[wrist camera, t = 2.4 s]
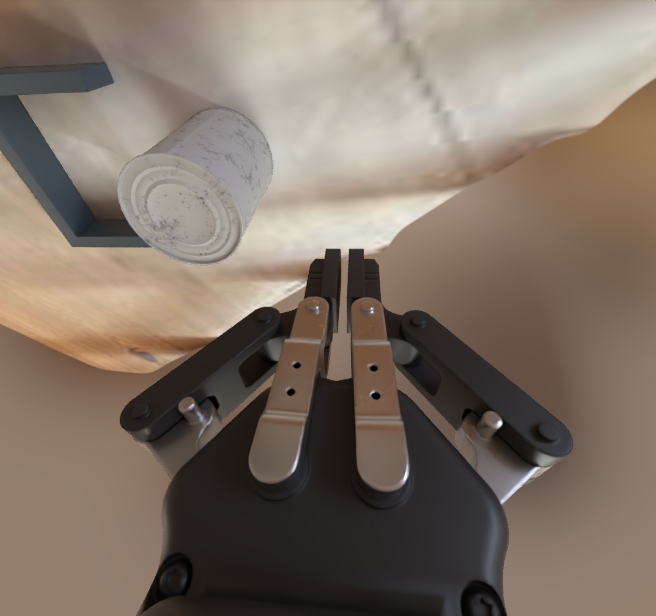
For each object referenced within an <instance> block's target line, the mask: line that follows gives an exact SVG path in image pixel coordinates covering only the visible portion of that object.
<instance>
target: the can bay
mask: <svg viewBox="0 0 656 616" xmlns="http://www.w3.org/2000/svg"><path fill="white" fill-rule="evenodd" d="M112 83H114V81H113V79H112V77H111V74H110V72H109V70H108V68H107V65H106V63H88V64H69V65H49V66H29V67H10V68H0V150H1V152H2V153H3V155H4V156H5V157H6V159H7V160H8V161H9V163H10V164H11V165H12V167H13V168H14V169H15V171H16V172H17V173H18V175H19V176H20V177H21V179H22V180H23V181H24V183H25V184H26V185H27V187H28V188H29V189H30V191H31V192H32V193H33V195H34V196H35V198H36V199H37V200H38V202H39V203H40V204H41V206H42V207H43V208H44V210H45V211H46V212H47V214H48V215H49V216H50V218H51V219H52V220H53V222H54V223H55V224H56V226H57V227H58V228H59V230H60V231H61V232H62V234H63V235H64V236H65V238H66V239H67V241H68V242H69V243H70V245H71V246H72V247H151V246H150V245H148V244H147V243H146V242H145V241H144V240H143V239H142V238H141V237H140V236H139V235H138V234H137V233H136V232H135V231H134V229H133V228H132V227H131V226H130V224H129V223H128V221H127V220H96V219H95V218H94V216H93V215H92V213H91V212H90V210H89V208H88V207H87V205H86V204H85V202H84V201H83V199H82V197H81V196H80V194H79V193H78V191H77V190H76V188H75V186H74V185H73V183H72V182H71V180H70V179H69V177H68V175H67V174H66V172H65V171H64V169H63V167H62V166H61V164H60V163H59V161H58V160H57V158H56V156H55V155H54V153H53V152H52V150H51V149H50V147H49V145H48V144H47V142H46V141H45V139H44V138H43V136H42V134H41V133H40V131H39V130H38V128H37V126H36V125H35V123H34V122H33V120H32V119H31V117H30V115H29V114H28V112H27V111H26V109H25V108H24V106H23V104H22V103H21V101H20V100H19V98H18V97H17V95H28V94H52V93H75V92H89V91H92V90H95V89H98V88H101V87H103V86H106V85H109V84H112Z"/></svg>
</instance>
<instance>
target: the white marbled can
mask: <svg viewBox="0 0 656 616" xmlns="http://www.w3.org/2000/svg"><path fill="white" fill-rule="evenodd" d="M272 174H273V161H272V154H271V151H270V149H269V146H268V143H267V141H266V140H265V138H264V136H263V135H262V133H261V132H260V131H259V130H258V128H257V127H256V126H255V125H254V124H253V123H252V122H251V121H249V120H248V119H247V118H245V117H244V116H243V115H241V114H239V113H237V112H235V111H233V110H229V109H224V108H208V109H205V110H202V111H200V112H198V113H197V114H195V115H194V116H193V117H192V118H191V119H190V120H189V121H188V122H186V123H185V124H184V125H182V126H181V127H180V128H178V129H177V130H175V131H174V132H173V133H171V134H170V135H169V136H167V137H166V138H164V139H163V140H162V141H160V142H159V143H158V144H156V145H155V146H153V147H152V148H151V149H149V150H148V151H147V152H145V153H144V154H142V155H140V156H137V157H136V158H134V159H133V160H131V161H130V162H129V163H127V164H126V165H125V167H124V168H123V170H122V171H121V173H120V176H119V180H118V184H117V192H118V200H119V203H120V206H121V210H122V212H123V214H124V216H125V218H126V219H127V221H128V223H129V224H130V226H131V227H132V228H133V229H134V231H135V232H136V233H137V234H138V235H139V236H140V237H141V238H142V239H143V240H144V241H145V242H146V243H147V244H148V245H150V246H151V247H153V248H154V249H155V250H157V251H158V252H160V253H162V254H163V255H165V256H167V257H169V258H171V259H174V260H177V261H179V262H182V263H186V264H191V265H204V266H207V265H213V264H218V263H220V262H222V261H225V260H227V259H228V258H229V257H231V256H232V255H233V254H234V253H235V252H236V250H237V249H238V247H239V246H240V244H241V240H242V237H243V235H244V233H245V231H246V229H247V227H248V225H249V223H250V221H251V219H252V216H253V214H254V212H255V210H256V208H257V206H258V204H259V202H260V200H261V198H262V196H263V194H264V192H265V190H266V189H267V187H268V185H269V184H270V181H271V178H272Z"/></svg>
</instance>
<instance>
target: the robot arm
mask: <svg viewBox="0 0 656 616" xmlns="http://www.w3.org/2000/svg"><path fill="white" fill-rule="evenodd" d="M348 266H349V267H348V286H347V333H351V374H352V378H349V379H344V380H340V381H333V380H330V379H327V374H328V367H329V360H330V353H331V342H332V337H333V333H338V320H339V306H340V291H341V249H326V252H325V259H315V260H314V261H313V262H312V264H311V265H310V269H309V275H308V280H307V285H306V291H305V296H304V300H302V301H301V302H300V304H299V305H298V308H296V309H295V310H292V311H289V312H284V313H279V311H278V310H277V309H275V308H272V307H262V308H259V309H256V310H255V311H253V312H252V313H251V314H249V315H248V316H247V317H245V318H244V319H242V320H241V321H240V322H238V323H237V324H236V325H234V326H233V327H231V328H230V329H229V330H227V331H226V332H225V333H223V334H222V335H220V336H219V337H218V338H216V339H215V340H214V341H212V342H211V343H210V344H208V345H207V346H205V347H204V348H203V349H202V350H200V351H199V352H197V353H196V354H195V355H193V356H192V357H190V358H189V359H188V360H186V361H185V362H183V363H182V364H181V365H180V366H178V367H177V368H175V369H174V370H172V371H171V372H170V373H168V374H167V375H166V376H164V377H163V378H162V379H160V380H159V381H157V382H156V383H155V384H153V385H152V386H151V387H149V388H148V389H146V390H145V391H144V392H142V393H141V394H140V395H138V396H137V397H136V398H134V399H133V400H132V401H130V402H129V403H128V404H127V405H126V406H125V408H124V410H123V411H122V413H121V416H120V424H121V426H122V428H123V429H125V430H126V431H127V432H128V433H129V434H131V435H132V437H133V438H134V440H136V441H137V442H138V443H139V444H140V445H142V446H143V447H144V448H145V449H146V450H148V451H149V452H150V453H152V454H153V455H154V457H155V458H156V459H157V461H158V462H159V464H160V465H161V466H162V468H163V469H164V470H165V472H166V473H167V474H168V476H169V477H170V479H171V480H172V481H171V482H170V485H169V486H168V489H167V491H166V493H165V497H164V501H163V505H162V525H163V545H162V553H161V559H160V564H159V568H158V571H157V574H156V576H155V578H154V581H153V583H152V585H151V587H150V589H149V591H148V593H147V595H146V597H145V600H144V601H143V603H142V605H141V607H140V609H139V611H138V613H137V615H136V616H507V613H506V608H505V604H504V597H503V567H504V560H505V556H506V552H507V548H508V541H509V530H508V523H507V519H506V515H505V512H504V509H503V507H502V504H503V503H504V502H505V501H506V500H507V499H508V498H509V497H510V496H511V495H512V494H513V493H514V492H516V491H517V490H518V489H519V488H520V487H521V486H525V485H527V484H529V483H530V482H532V481H533V480H534V479H536V478H537V477H538V476H540V475H541V474H542V473H544V472H545V471H546V470H548V469H549V468H550V467H552V466H553V465H554V464H556V463H557V462H558V461H560V460H561V459H562V458H563V457H565V456H566V455H568V454H569V453H570V452H571V450H572V448H573V439H572V436H571V434H570V432H569V430H568V429H567V428H566V427H565V425H564V424H563V423H562V422H560V421H559V420H558V419H557V418H556V417H554V416H553V415H552V414H551V413H549V412H548V411H547V410H546V409H545V408H543V407H542V406H541V405H540V404H538V403H537V402H536V401H535V400H533V399H532V398H531V397H530V396H529V395H527V394H526V393H525V392H524V391H522V390H521V389H520V388H519V387H518V386H516V385H515V384H514V383H513V382H511V381H510V380H509V379H508V378H506V377H505V376H504V375H503V374H502V373H500V372H499V371H498V370H497V369H495V368H494V367H493V366H492V365H490V364H489V363H488V362H487V361H486V360H484V359H483V358H482V357H481V356H480V355H478V354H477V353H476V352H475V351H473V350H472V349H471V348H470V347H468V346H467V345H466V344H465V343H464V342H462V341H461V340H460V339H459V338H457V337H456V336H455V335H454V334H452V333H451V332H450V331H449V330H448V329H446V328H445V327H444V326H443V325H441V324H440V323H439V322H438V321H437V320H435V319H434V318H433V317H431V316H430V315H429V314H427V313H426V312H423V311H418V310H413V311H409V312H406V313H405V314H404V315H403V316H402V315H398V314H395V313H392V312H390V311H388V310H386V309H385V307H384V306H383V305H382V303H381V293H380V279H379V278H380V277H379V265H378V264H377V262H376V261H375V260H374V259H364V249H349V264H348ZM393 362H394V364H395V366H396V367H397V368H398V370H399V371H400V372H401V373H402V374H403V375H404V376H405V377H406V378H407V379H408V380H409V381H410V382H411V383H412V384H413V385H414V386H415V387H416V389H417V390H418V391H419V392H420V393H421V394H422V395H423V396H424V397H425V398H426V399H427V400H428V401H429V402H430V403H431V404H432V405H433V406H434V407H435V408H436V410H437V411H438V412H439V413H440V414H441V415H442V416H443V417H444V418H445V419H446V420H447V421H448V422H449V423H450V424H451V425H452V426H453V427H454V429H455V430H456V431H457V432H456V444H457V446H458V448H459V450H460V451H461V452H462V454H463V455H464V457H465V458H464V457H463V456H462V455H461V454H460V453H459V452H458V450H457V449H456V448H455V447H454V446H453V445H452V444H451V443H450V442H449V440H447V438H446V437H445V436H444V435H443V434H442V433H441V431H440V430H439V429H438V428H437V427H436V426H435V425H434V424H433V423H432V421H431V420H430V419H429V418H428V417H427V416H426V415H425V414H424V413H423V411H422V410H421V409H420V408H419V407H418V406H417V405H416V404H415V403H414V402H413V400H411V398H409V397H408V396H407V395H406V394H404V393H403V392H401V391H400V390H398V389H397V385H396V378H395V370H394V364H393ZM274 373H275V375H274V379H273V383H272V386H271V387H269V388H267V389H266V390H265V391H263V392H262V393H261V394H260V395H259V396H258V397H256V398H255V400H253V401H252V402H251V403H250V404H249V405H248V406H247V407H246V408H245V409H244V410H243V411H241V412H240V413H239V414H238V415H237V416H236V417H235V418H234V419H233V420H232V421H231V422H230V423H228V424H227V425H226V426H225V427H224V428H223V429H222V430H221V428H222V420H223V419H224V418H225V417H226V416H228V415H229V414H230V413H231V412H232V411H233V410H234V409H235V408H236V407H238V406H239V405H240V404H241V403H242V402H243V401H244V400H245V399H246V398H248V396H250V395H251V394H252V393H253V392H254V391H255V390H256V389H257V388H258V387H260V386H261V385H262V384H263V383H264V382H265V381H266V380H267V379H268V378H270V377H271V376H272V375H273V374H274Z"/></svg>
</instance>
